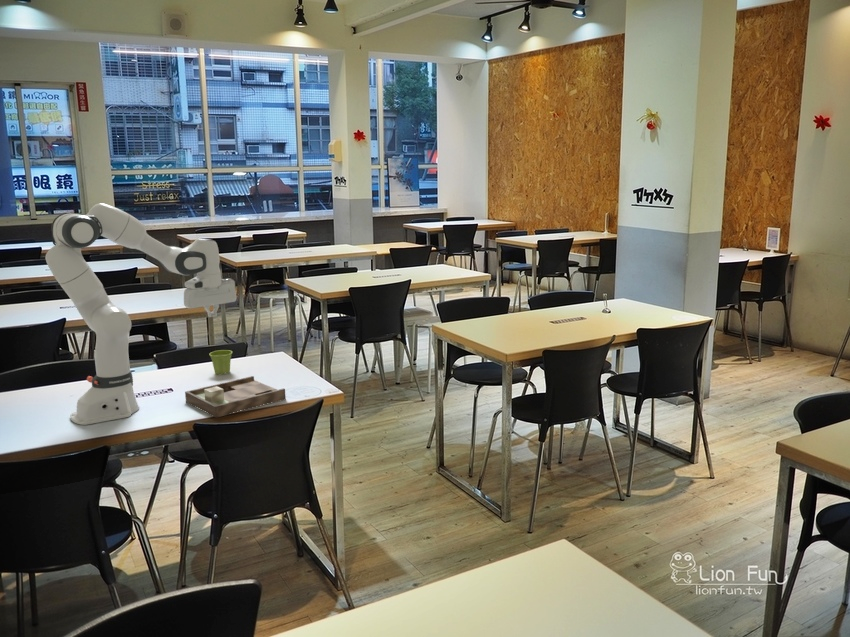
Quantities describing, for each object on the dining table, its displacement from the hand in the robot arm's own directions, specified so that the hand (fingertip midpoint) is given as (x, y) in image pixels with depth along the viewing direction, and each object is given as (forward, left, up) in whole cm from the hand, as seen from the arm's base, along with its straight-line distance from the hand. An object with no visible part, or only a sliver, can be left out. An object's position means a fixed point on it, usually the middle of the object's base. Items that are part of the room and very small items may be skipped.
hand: (212, 316), depth 278 cm
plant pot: (+12, +20, -29) cm, 37 cm away
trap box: (-2, -18, -29) cm, 34 cm away
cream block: (-11, -18, -27) cm, 34 cm away
